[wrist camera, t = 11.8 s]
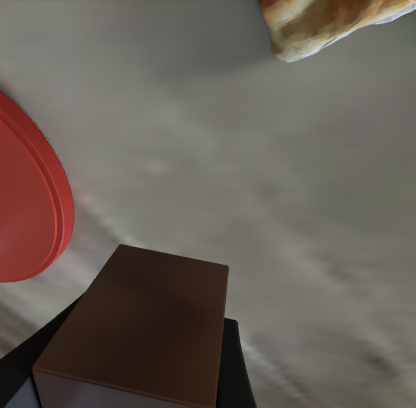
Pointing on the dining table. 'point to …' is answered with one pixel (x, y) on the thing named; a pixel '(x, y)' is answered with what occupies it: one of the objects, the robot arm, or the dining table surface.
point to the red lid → (30, 198)
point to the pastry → (322, 22)
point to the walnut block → (139, 336)
